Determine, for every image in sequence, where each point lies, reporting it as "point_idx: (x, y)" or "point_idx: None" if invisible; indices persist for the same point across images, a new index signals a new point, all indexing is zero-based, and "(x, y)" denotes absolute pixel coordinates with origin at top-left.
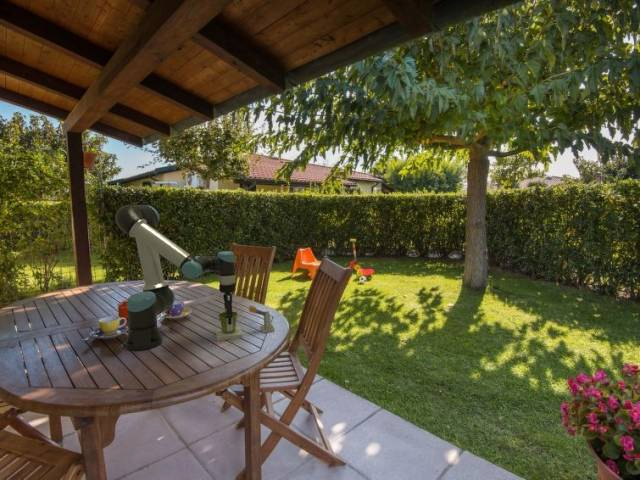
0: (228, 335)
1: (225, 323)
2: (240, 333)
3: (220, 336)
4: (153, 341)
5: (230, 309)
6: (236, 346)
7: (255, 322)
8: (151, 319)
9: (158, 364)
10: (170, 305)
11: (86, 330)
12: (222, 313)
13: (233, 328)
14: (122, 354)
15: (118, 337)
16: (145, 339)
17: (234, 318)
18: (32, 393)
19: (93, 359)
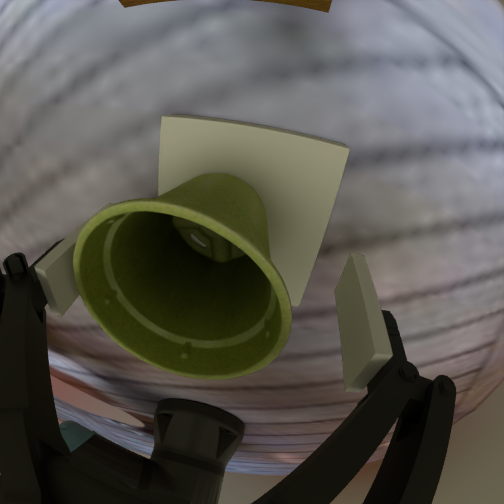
0: (307, 244)
1: (256, 305)
2: (321, 157)
3: (293, 288)
4: (231, 432)
5: (430, 465)
6: (445, 235)
7: (95, 8)
8: (209, 487)
9: None
10: (86, 446)
11: (100, 419)
12: (110, 324)
13: (260, 207)
14: (246, 440)
15: (140, 420)
16: (235, 448)
17: (267, 255)
18: None
19: (244, 453)
